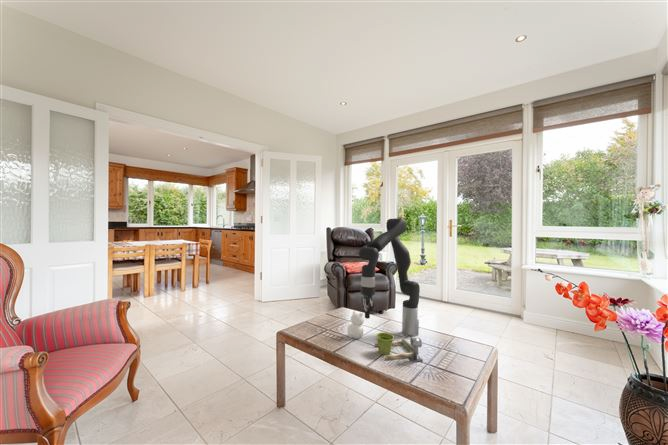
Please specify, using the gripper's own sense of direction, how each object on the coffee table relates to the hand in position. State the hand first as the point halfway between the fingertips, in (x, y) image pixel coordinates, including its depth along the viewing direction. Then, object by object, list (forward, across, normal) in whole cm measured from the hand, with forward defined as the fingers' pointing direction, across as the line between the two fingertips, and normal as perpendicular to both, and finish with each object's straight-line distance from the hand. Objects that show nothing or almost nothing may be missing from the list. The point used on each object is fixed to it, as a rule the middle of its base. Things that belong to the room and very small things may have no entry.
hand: (367, 317), depth 139 cm
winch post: (+19, -10, -22) cm, 31 cm away
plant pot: (+19, 0, -10) cm, 22 cm away
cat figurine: (+19, +22, -1) cm, 29 cm away
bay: (+19, 0, -17) cm, 25 cm away
